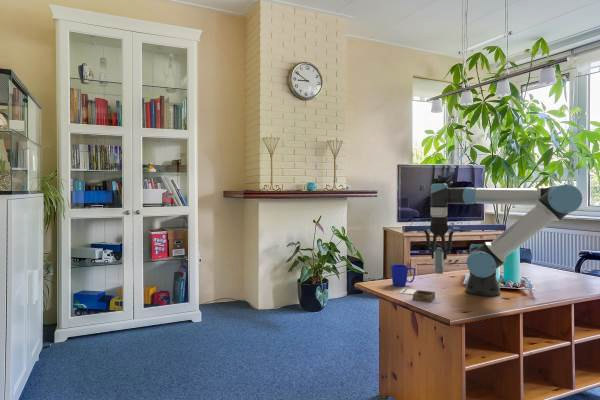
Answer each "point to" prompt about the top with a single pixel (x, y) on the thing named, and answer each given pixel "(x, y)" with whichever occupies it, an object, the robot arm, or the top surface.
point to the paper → (407, 291)
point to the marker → (439, 261)
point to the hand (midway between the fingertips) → (439, 265)
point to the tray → (424, 296)
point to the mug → (400, 275)
